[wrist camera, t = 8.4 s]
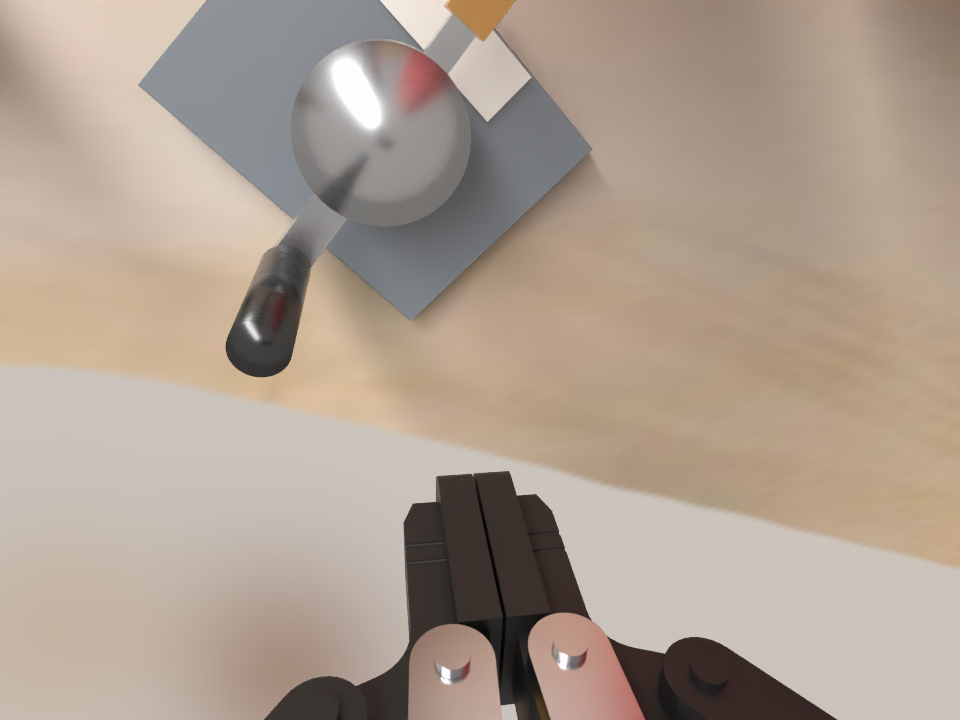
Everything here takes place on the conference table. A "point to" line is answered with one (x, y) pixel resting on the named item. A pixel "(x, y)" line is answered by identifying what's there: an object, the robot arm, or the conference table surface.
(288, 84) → the stand
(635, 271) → the conference table surface
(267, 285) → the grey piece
